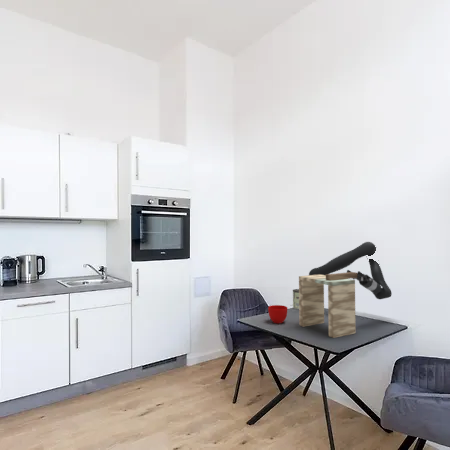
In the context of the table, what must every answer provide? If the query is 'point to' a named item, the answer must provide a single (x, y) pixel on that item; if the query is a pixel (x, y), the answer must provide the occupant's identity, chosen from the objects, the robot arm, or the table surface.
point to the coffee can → (296, 298)
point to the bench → (337, 304)
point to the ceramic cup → (277, 313)
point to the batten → (341, 276)
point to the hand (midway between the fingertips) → (352, 271)
